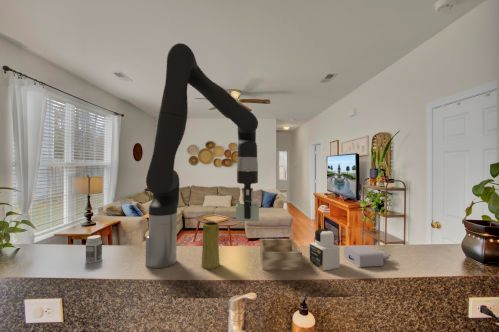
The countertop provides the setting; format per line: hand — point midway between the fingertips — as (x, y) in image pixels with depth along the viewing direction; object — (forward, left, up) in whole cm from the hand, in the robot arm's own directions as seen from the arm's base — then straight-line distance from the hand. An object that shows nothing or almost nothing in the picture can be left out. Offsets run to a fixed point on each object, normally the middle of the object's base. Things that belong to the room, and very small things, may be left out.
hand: (247, 216), depth 81 cm
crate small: (0, 0, -1) cm, 1 cm away
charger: (+44, -1, -16) cm, 47 cm away
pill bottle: (-55, 0, -16) cm, 57 cm away
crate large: (+11, 0, -16) cm, 20 cm away
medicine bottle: (+26, -4, -16) cm, 31 cm away
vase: (-13, -4, -16) cm, 21 cm away
